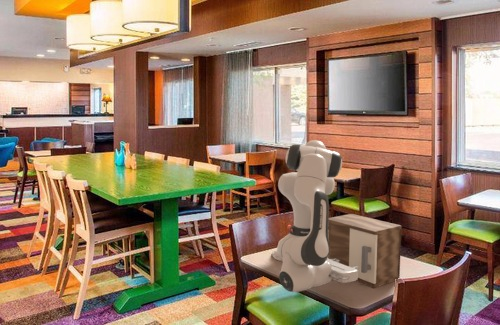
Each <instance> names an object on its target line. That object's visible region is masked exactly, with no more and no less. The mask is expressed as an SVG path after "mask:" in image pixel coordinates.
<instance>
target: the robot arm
mask: <svg viewBox="0 0 500 325" xmlns="http://www.w3.org/2000/svg"><path fill="white" fill-rule="evenodd" d="M284 159H285V163H286V165H285V166H286V167H287V168H288V169H289V170H291V171H292V172H287V173H282V175H280V177H279V178H278V183H277V187H278V190H279V192H280V193H281V194H282V195H283V196H284V197H286V199H287V200H289V203H290V205H291V207H292V210H293V225H292V224H288V225H287V230H289V233H288V234H286V235H285V236H284V237H283V238H281V239H279V241H278V244H277V248H276V249H274V250H273V251H272V254H271V255H272V257H273V259H275V260H276V261H280V262H282V265H281V270H280V271H279V274H278V279H279V282H280V285H281V286H282V287H283V289H285V290H286V291H287V292H291V293H298V292H304V291H306V290H309V289H311V288H312V287H313V288H317V287H319V286H323V285H327V284H329V283H330V282H331V281H332V280H334V281H337V282H339V283H343V284H345V283H346V284H347V283H351V282H356V280H357V279H358V269H359V267H358V266H352V268H351V267H349V266H346V265H343V264H341V263H339V260H338V259H328V256H329V252H330V248H329V241H328V225H329V222H328V221H329V218H330V217H329V216H330V204H329V195H331V194H332V193H333V191H335V187H336V182H335V179H334V178H336V177H337V176H338V175H339V173H340V172H341V170H342V168H343V159H342V155H341V154H340V153H339V152H338V151H335V150H330V149H327V147H326V145H325V144H324V143H323V142H322V141H321V140H315V139H314V140H309V141H307V142H306V143H305V145H301V144H297V143H296V144H292V145H290V147H289V148H288V149H287V151H286V154H285V158H284ZM295 171H296V172H295Z"/></svg>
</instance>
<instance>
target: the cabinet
mask: <svg viewBox="0 0 500 325" xmlns="http://www.w3.org/2000/svg"><path fill="white" fill-rule="evenodd" d="M328 225H329V248H330V252H329V256H328V259H338V260H339V263H341V264H343V265H346V266H349V244H350V228H352V229H356V230H359V231H363V232H367V233H370V234H374V235H378V237H377V269H376V284H373V283H370V282H368V281H365V280H363V279H360V278H358V279H357V280H356V281H355V282H357V283H359V284H363V285H365V286H367V287H369V288H373V289H375V288H377V287H378V288H379V287H381V286H383V285H387V284H389V283H393V282H395V279H398V278H401V277H400V276H401V274H400V273H401V268H400V267H401V250H402V248H401V245H402V225H400V224H396V223H391V222H388V221H383V220H380V219H375V218H372V217H367V216H362V215H358V214H354V213H349V214H343V215H339V216H334V217H333V216H332V217H329V221H328Z"/></svg>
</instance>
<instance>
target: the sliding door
mask: <svg viewBox="0 0 500 325" xmlns="http://www.w3.org/2000/svg"><path fill="white" fill-rule="evenodd" d="M377 237H378V235H374V234H370V233H367V232H363V231H359V230H356V229H352V228H350V244H349V267H351V268H352V266H358V267H359V269H358V278H360V279H363V280H365V281H368V282H370V283H373V284H376V269H377Z"/></svg>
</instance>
